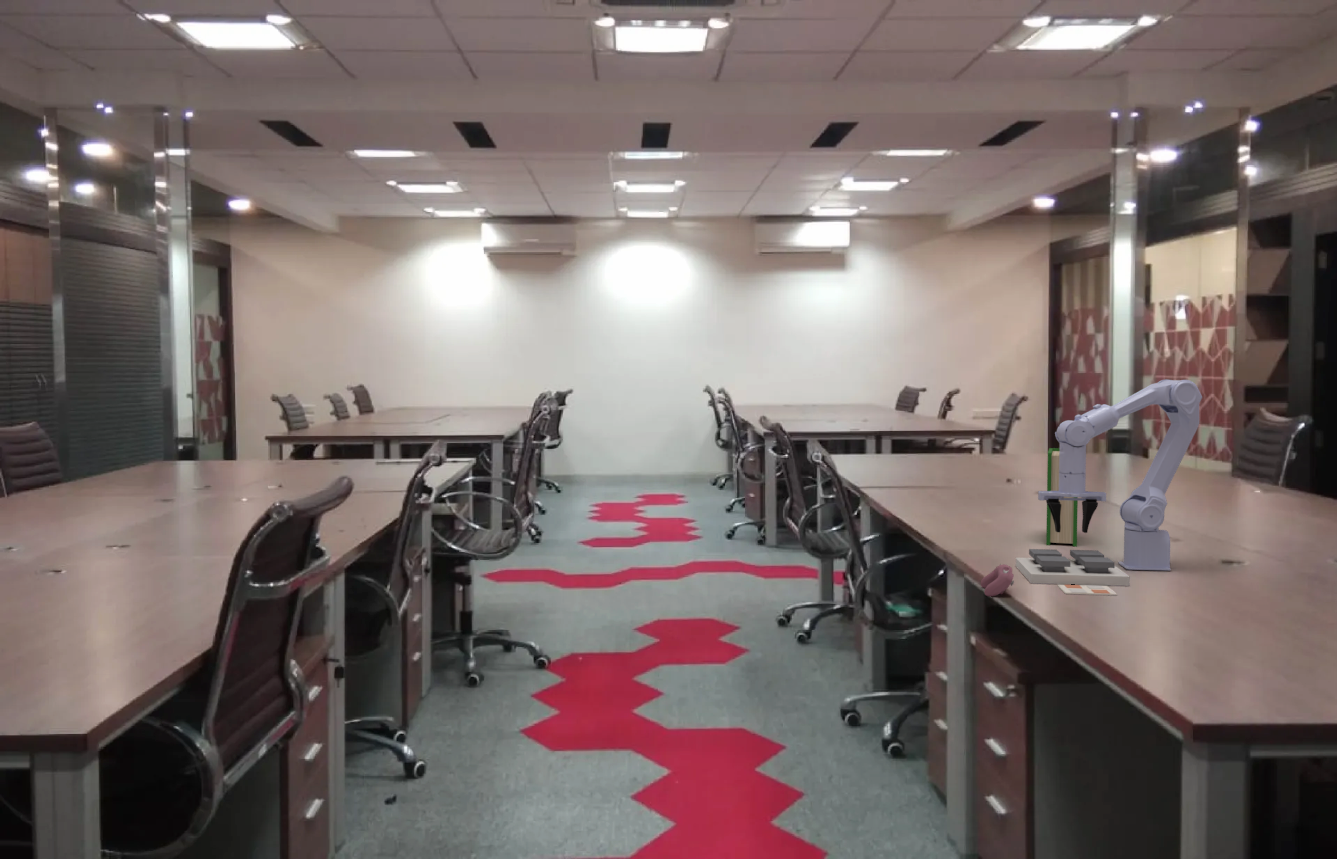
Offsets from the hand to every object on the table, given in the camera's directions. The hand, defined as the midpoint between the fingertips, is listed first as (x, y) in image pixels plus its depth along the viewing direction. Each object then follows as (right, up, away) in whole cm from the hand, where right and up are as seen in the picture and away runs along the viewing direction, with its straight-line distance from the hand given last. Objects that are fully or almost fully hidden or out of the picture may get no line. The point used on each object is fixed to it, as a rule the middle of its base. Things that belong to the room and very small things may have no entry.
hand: (1071, 531), depth 243 cm
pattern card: (-6, -10, -24) cm, 26 cm away
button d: (-9, -8, -12) cm, 17 cm away
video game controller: (-25, -10, -25) cm, 37 cm away
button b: (-7, -7, -3) cm, 11 cm away
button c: (0, -8, -13) cm, 15 cm away
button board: (-3, -9, -8) cm, 12 cm away
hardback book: (+12, -6, +39) cm, 41 cm away
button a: (+2, -7, -4) cm, 9 cm away
